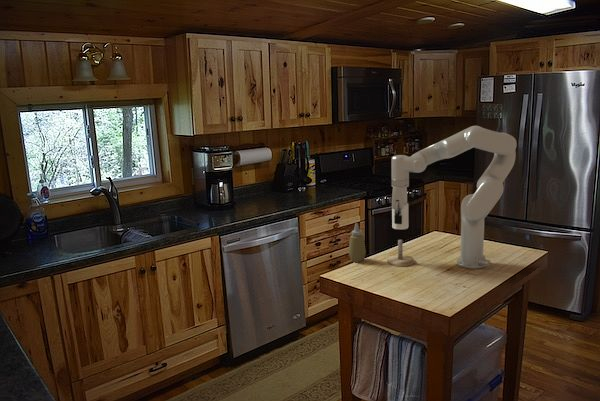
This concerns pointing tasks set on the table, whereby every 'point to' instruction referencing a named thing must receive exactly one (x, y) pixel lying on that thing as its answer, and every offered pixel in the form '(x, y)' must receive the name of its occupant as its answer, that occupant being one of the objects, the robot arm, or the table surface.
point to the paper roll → (404, 218)
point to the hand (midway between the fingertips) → (400, 221)
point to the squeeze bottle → (357, 245)
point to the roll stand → (400, 257)
